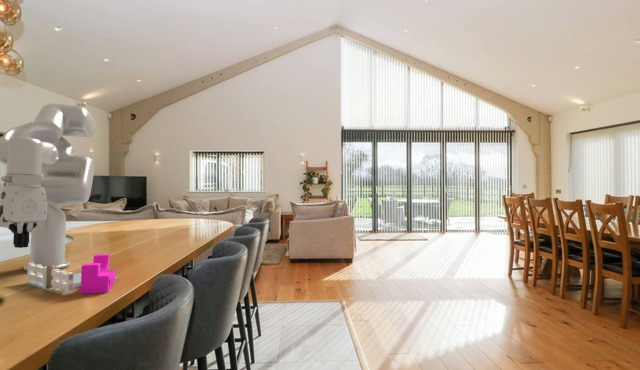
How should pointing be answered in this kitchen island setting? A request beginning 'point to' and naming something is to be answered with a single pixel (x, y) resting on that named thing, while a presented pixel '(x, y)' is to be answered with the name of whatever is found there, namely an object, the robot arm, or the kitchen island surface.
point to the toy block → (97, 275)
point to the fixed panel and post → (59, 279)
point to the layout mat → (75, 285)
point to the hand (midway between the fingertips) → (21, 247)
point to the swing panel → (36, 273)
